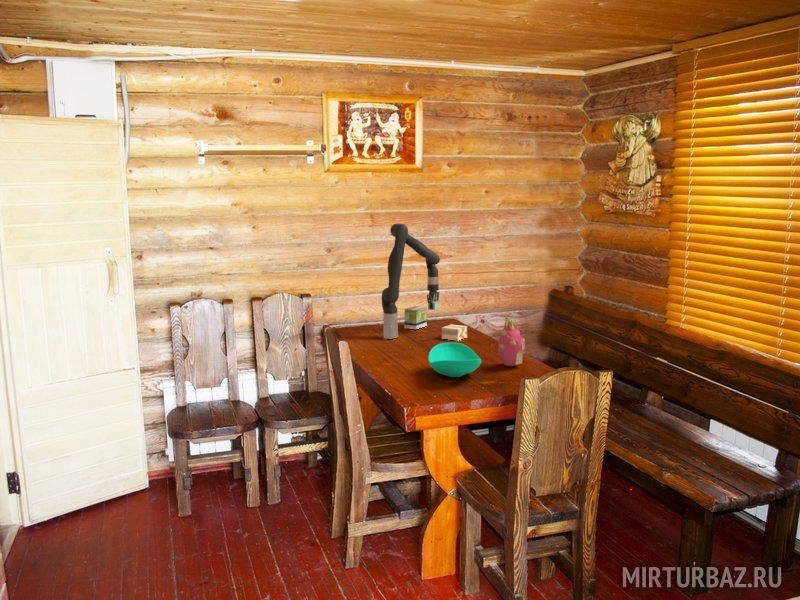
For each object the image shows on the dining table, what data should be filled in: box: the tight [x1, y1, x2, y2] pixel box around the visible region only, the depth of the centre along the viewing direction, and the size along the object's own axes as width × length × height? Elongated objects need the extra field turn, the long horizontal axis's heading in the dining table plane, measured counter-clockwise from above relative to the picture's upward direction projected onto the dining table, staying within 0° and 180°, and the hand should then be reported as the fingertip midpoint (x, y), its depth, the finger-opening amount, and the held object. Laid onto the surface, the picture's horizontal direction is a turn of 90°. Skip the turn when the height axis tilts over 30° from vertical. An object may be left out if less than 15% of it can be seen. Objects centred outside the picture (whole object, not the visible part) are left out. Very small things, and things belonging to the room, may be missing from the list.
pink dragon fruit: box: [497, 312, 526, 367], centre depth 383 cm, size 18×14×30 cm
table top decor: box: [427, 342, 482, 378], centre depth 369 cm, size 40×28×13 cm
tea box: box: [404, 305, 428, 330], centre depth 486 cm, size 15×10×15 cm
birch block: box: [441, 323, 468, 342], centre depth 453 cm, size 12×12×8 cm
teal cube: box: [427, 301, 439, 311], centre depth 468 cm, size 5×5×5 cm
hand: (433, 308), depth 469 cm, fingers closed on teal cube, 5 cm apart
